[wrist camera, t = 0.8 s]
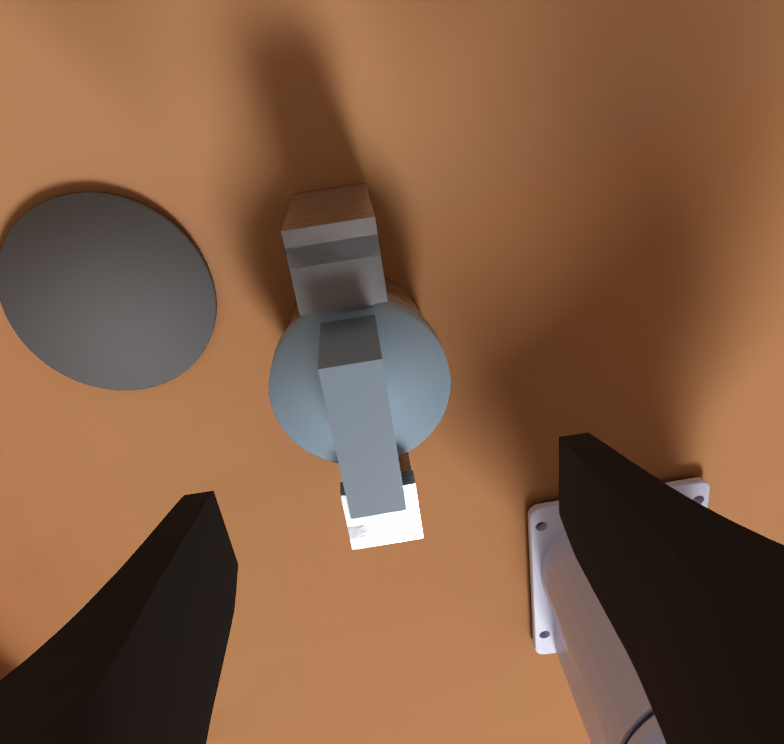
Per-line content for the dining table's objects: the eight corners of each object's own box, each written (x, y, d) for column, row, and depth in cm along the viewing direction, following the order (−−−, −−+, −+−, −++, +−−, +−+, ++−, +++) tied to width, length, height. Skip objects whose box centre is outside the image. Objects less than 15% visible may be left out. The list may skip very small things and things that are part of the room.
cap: (456, 461, 21) (480, 540, 18) (300, 487, 21) (292, 572, 17) (431, 240, 17) (456, 284, 14) (242, 270, 17) (219, 322, 14)
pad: (239, 370, 22) (238, 373, 22) (51, 400, 22) (47, 404, 22) (182, 175, 19) (180, 177, 19) (-38, 210, 19) (-43, 212, 19)
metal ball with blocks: (438, 447, 24) (461, 531, 20) (317, 467, 24) (314, 556, 20) (405, 176, 19) (426, 208, 15) (253, 200, 19) (229, 239, 15)
